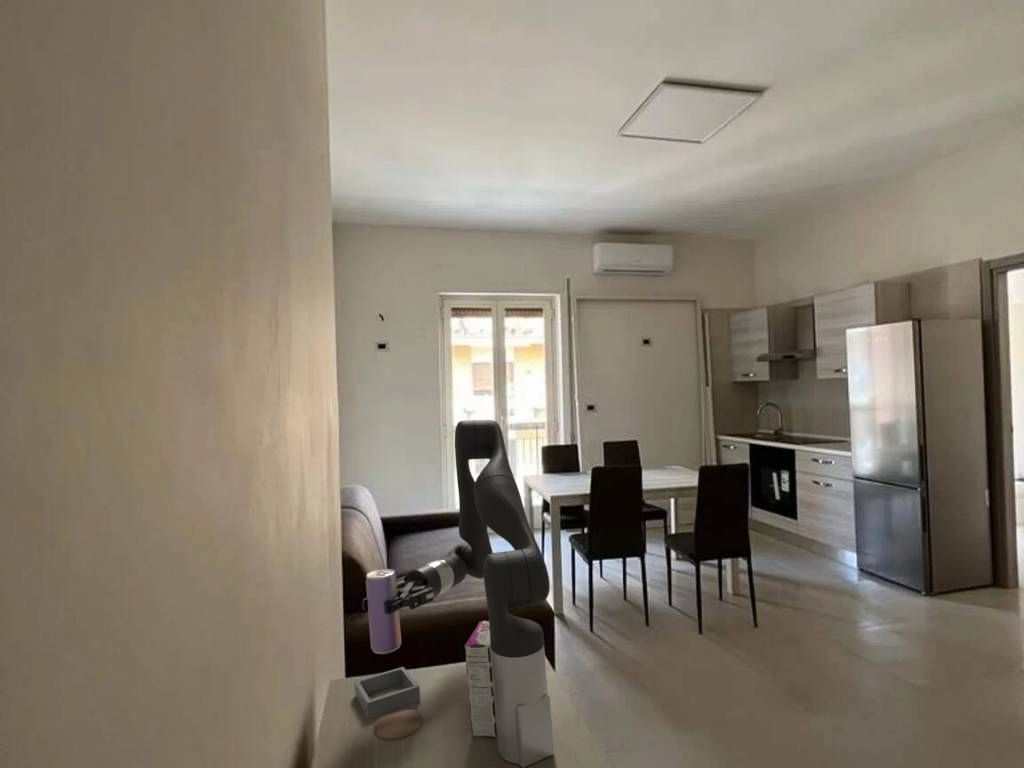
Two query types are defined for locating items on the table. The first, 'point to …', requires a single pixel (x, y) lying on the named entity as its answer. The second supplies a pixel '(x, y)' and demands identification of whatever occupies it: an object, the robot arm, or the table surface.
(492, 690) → the candy bar box
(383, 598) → the beverage can
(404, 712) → the coaster
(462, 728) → the table surface
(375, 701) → the square frame
